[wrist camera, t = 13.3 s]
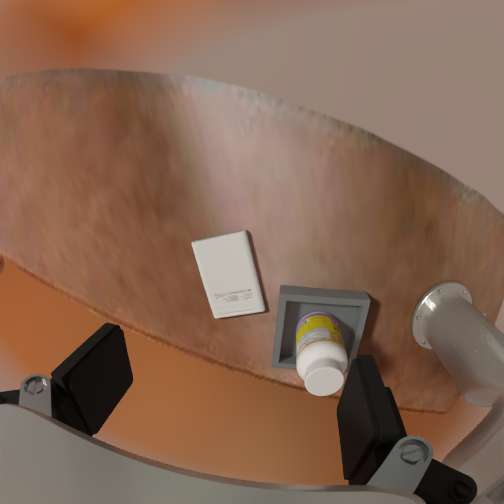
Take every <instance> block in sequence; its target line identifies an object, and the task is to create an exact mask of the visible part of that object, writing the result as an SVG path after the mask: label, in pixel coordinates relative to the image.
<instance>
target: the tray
mask: <svg viewBox="0 0 504 504" xmlns="http://www.w3.org/2000/svg"><path fill="white" fill-rule="evenodd" d="M370 301H371V300H370V298H369V296H368V295H367V293H366V292H360V291H346V290H333V289H320V288H308V287H296V286H285V285H281V286H280V296H279V306H278V315H277V325H276V334H275V343H274V351H273V360H272V367H274V368H284V369H297V367H296V329H297V325H298V323H299V322H300V320H301V319H302V318H303V317H305V316H306V315H308V314H310V313H313V312H325V313H328V314H330V315H332V316H333V317H334V318H335V319H336V321H337V323H338V325H339V328H340V332H341V336H342V339H343V343H344V347H345V350H346V354H347V358H348V364H347V368H346V370H345V372H349V369H350V366H351V362H352V360H353V359H356V355H357V352H358V348H359V345H360V341H361V337H362V334H363V330H364V326H365V322H366V318H367V314H368V310H369V305H370Z"/></svg>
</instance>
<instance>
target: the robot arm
mask: <svg viewBox="0 0 504 504" xmlns="http://www.w3.org/2000/svg"><path fill="white" fill-rule="evenodd" d="M411 330H412V334H413V336H414V338H415V340H416V341H417V343H418V344H419V345H420V346H422V347H424V348H426V349H433V350H434V352H435V353H436V355H437V356H438V358H439V359H440V361H441V362H442V364H443V366H444V367H445V369H446V370H447V372H448V373H449V375H450V376H451V378H452V380H453V381H454V383H455V385H456V386H457V388H458V389H459V391H460V393H461V394H462V396H463V397H464V399H465V400H466V401H468V402H469V403H470V404H473V405H475V406H481V407H492V409H491V410H490V412H489V413H488V414H487V416H486V417H485V418H484V419H483V420H482V422H480V424H478V425H477V427H476V428H474V430H473V431H471V432H470V433H469V434H468V435H467V436H466V437H465V438H464V439H463V440H462V441H461V442H460V443H459V444H458V445H457V446H456V447H454V448H453V449H452V450H451V451H450V452H449V453H448V454H447V455H446V457H445V458H444V459H443V461H442V462H439V461H437V460H435V459H432V457H433V449H432V447H431V445H430V444H429V442H427V440H425V439H423V438H421V437H418V436H408V437H407V434H406V431H405V428H404V425H403V422H402V419H401V416H400V413H399V410H398V408H397V405H396V402H395V399H394V397H393V394H392V391H391V389H390V388H389V387H385V386H384V383H383V381H382V378H381V375H380V372H379V370H378V367H377V364H376V362H375V359H374V357H373V356H372V355H358V357H357V359H353V360H352V362H351V366H350V369H349V373H348V376H347V379H346V382H345V385H344V388H343V391H342V394H341V397H340V400H339V403H338V406H337V420H338V428H339V435H340V445H341V454H342V462H343V463H342V464H343V474H344V479H345V480H349V485H293V484H276V483H265V482H255V481H247V480H239V479H233V478H227V477H221V476H215V475H210V474H205V473H200V472H196V471H192V470H187V469H183V468H179V467H175V466H172V465H168V464H165V463H161V462H158V461H154V460H151V459H148V458H145V457H142V456H139V455H136V454H133V453H131V452H128V451H125V450H122V449H120V448H117V447H115V446H112V445H110V444H107V443H105V442H102V441H100V440H98V439H96V438H93V437H92V436H93V434H97V433H98V431H99V430H100V428H101V427H102V425H103V424H104V423H105V421H106V420H107V418H108V417H109V415H110V414H111V413H112V411H113V410H114V408H115V407H116V406H117V404H118V403H119V401H120V400H121V399H122V397H123V396H124V394H125V393H126V391H127V390H128V389H129V387H130V386H131V384H132V382H133V375H132V371H131V366H130V362H129V357H128V353H127V348H126V343H125V338H124V333H123V330H122V329H121V328H120V326H118V325H115V324H111V323H105V324H104V325H103V326H102V327H101V328H100V329H98V330H97V331H96V332H95V333H94V334H93V335H92V336H91V337H90V338H88V339H87V340H86V341H85V342H84V343H83V344H82V345H81V346H80V347H79V348H77V349H76V350H75V351H74V352H73V353H72V354H71V355H70V356H69V357H68V358H67V359H66V360H64V361H63V362H62V363H61V364H60V365H59V366H58V367H57V368H56V369H55V370H54V371H53V372H52V373H51V376H52V378H51V379H49V378H48V377H47V376H45V375H42V374H34V375H30V376H29V377H27V378H26V379H24V380H23V382H22V384H21V388H20V389H19V390H12V391H5V392H0V504H504V334H503V333H502V332H501V331H500V330H499V329H498V328H497V327H496V326H495V325H494V324H493V323H492V322H491V321H490V320H488V319H487V318H486V313H485V312H480V311H479V310H477V309H476V308H475V307H474V306H473V305H472V297H471V294H470V292H469V291H468V289H467V288H466V287H465V286H463V285H462V284H460V283H458V282H455V281H448V282H443V283H440V284H438V285H436V286H435V287H433V288H432V289H430V290H429V291H428V292H427V293H426V294H425V295H424V296H423V297H422V299H421V300H420V302H419V303H418V305H417V307H416V309H415V311H414V314H413V317H412V322H411Z"/></svg>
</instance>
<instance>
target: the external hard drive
mask: <svg viewBox="0 0 504 504" xmlns="http://www.w3.org/2000/svg"><path fill="white" fill-rule="evenodd" d="M192 247H193V250H194V254H195V257H196V260H197V264H198V267H199V270H200V274H201V277H202V280H203V284H204V287H205V290H206V293H207V296H208V299H209V303H210V306H211V309H212V312H213V315H214V318H223V317H230V316H236V315H243V314H250V313H257V312H262V311H265V304H264V300H263V296H262V292H261V288H260V284H259V279H258V275H257V271H256V267H255V263H254V259H253V255H252V251H251V247H250V243H249V239H248V235H247V231H246V230H241V231H237V232H232V233H228V234H223V235H219V236H214V237H210V238H205V239H201V240H196V241H193V242H192Z"/></svg>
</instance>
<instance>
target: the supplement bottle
mask: <svg viewBox="0 0 504 504" xmlns="http://www.w3.org/2000/svg"><path fill="white" fill-rule="evenodd" d="M347 364H348V358H347V354H346V350H345V347H344V343H343V339H342V336H341V332H340V328H339V325H338V323H337V321H336V319H335V318H334V317H333V316H332V315H330V314H328V313H325V312H313V313H310V314H308V315H306V316H305V317H303V318H302V319H301V320H300V322H299V323H298V325H297V329H296V367H297V372H298V374H299V376H300V377H301V378H302V379H303V380H304V381H305V387H306V389H307V390H308V391H309V392H310V393H312V394H314V395H317V396H326V395H330V394H333V393H335V392H336V391H338V390H339V389H340V388H341V387H342V385H343V383H344V375H343V374H344V372H345V370H346V368H347Z"/></svg>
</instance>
